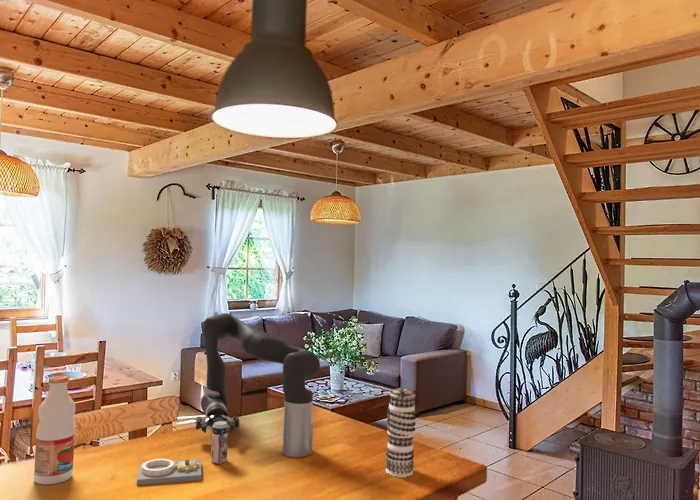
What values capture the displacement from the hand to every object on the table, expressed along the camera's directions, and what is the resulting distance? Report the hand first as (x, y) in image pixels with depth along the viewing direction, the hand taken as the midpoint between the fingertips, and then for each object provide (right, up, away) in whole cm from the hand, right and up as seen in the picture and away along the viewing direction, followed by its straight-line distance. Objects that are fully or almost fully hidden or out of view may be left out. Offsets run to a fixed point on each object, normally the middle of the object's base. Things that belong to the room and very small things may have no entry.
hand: (218, 429), depth 172 cm
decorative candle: (+59, -9, -13) cm, 61 cm away
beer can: (+3, -7, -10) cm, 13 cm away
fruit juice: (-39, -5, -27) cm, 48 cm away
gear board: (-9, -6, -21) cm, 24 cm away
